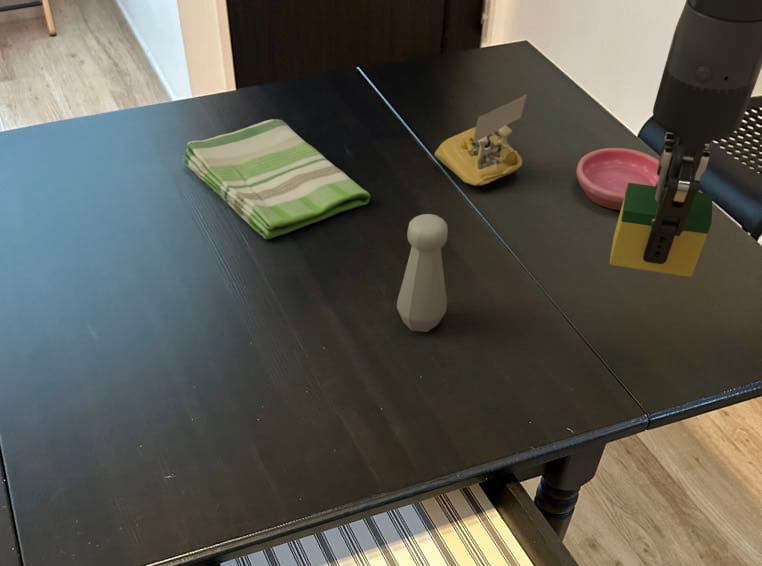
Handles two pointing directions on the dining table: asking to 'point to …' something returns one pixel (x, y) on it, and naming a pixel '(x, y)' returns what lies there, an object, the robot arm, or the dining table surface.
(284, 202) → the dish towel
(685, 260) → the sponge
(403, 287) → the salt shaker
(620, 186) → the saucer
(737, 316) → the dining table surface
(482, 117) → the yellow base with figure
